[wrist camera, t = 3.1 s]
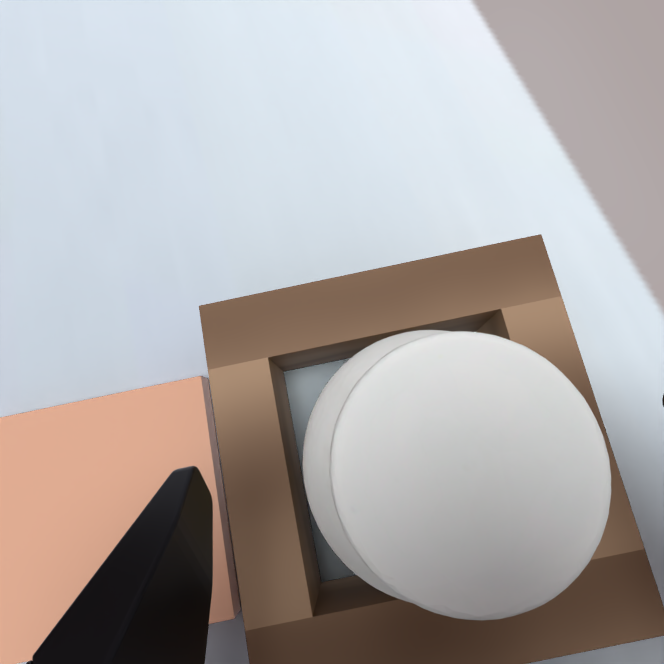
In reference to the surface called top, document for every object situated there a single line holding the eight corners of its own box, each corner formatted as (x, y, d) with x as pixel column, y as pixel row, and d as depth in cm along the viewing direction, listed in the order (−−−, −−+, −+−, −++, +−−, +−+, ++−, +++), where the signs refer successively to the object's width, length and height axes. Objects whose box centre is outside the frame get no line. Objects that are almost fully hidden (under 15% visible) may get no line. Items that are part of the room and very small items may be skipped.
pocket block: (609, 594, 15) (672, 634, 12) (277, 662, 15) (257, 718, 12) (509, 268, 17) (541, 234, 14) (225, 328, 17) (198, 306, 14)
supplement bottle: (343, 552, 15) (321, 729, 6) (307, 392, 17) (243, 333, 7) (503, 513, 15) (731, 630, 6) (456, 356, 17) (583, 250, 7)
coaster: (240, 609, 15) (234, 618, 14) (10, 656, 15) (-9, 668, 14) (208, 378, 17) (200, 375, 16) (1, 421, 17) (-16, 421, 16)
